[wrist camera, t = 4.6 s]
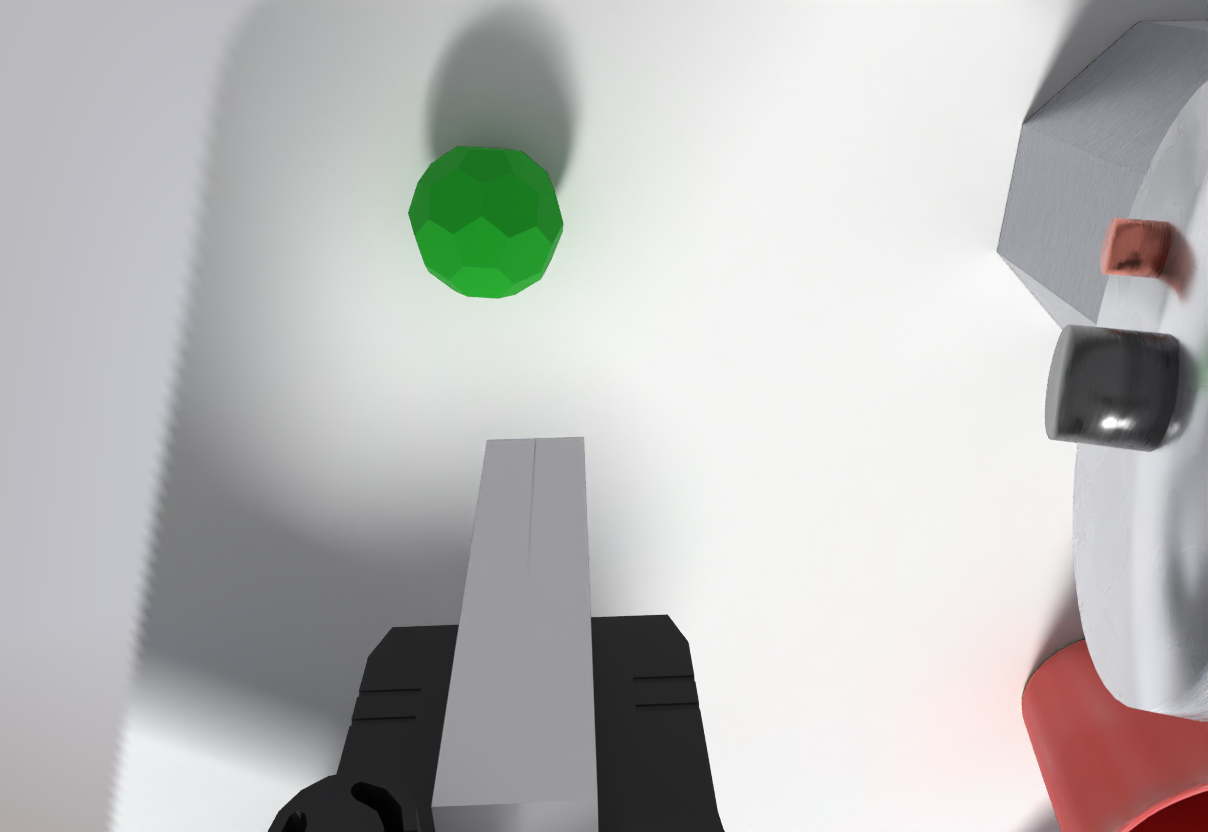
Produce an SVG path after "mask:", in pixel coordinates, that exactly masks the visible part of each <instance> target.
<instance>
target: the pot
mask: <svg viewBox="0 0 1208 832" xmlns="http://www.w3.org/2000/svg"><path fill="white" fill-rule="evenodd" d="M1206 81H1208V20H1183V21H1139V22H1138V23H1137V24H1135V25H1134V26H1133V27H1132V28H1131V29H1130V30H1129V31H1128V32H1126V33H1125V34H1124V35H1123V36H1122V37H1121V38H1120V39H1119V40H1117V41H1116V42H1115V43H1114V44H1113V45H1112V46H1111V47H1110V48H1108V49H1107V50H1106V51H1105V52H1104V53H1103V54H1102V55H1100V56H1099V57H1098V58H1097V59H1096V60H1095V61H1094V62H1093V63H1091V64H1090V65H1089V66H1088V67H1087V68H1086V69H1085V70H1084V71H1082V72H1081V73H1080V74H1079V75H1078V76H1077V77H1076V78H1075V79H1073V80H1072V81H1071V82H1070V83H1069V84H1068V85H1067V86H1066V87H1064V88H1063V89H1062V90H1061V91H1060V92H1059V93H1058V94H1056V95H1055V96H1054V97H1053V98H1052V99H1051V100H1050V101H1049V102H1047V103H1046V104H1045V105H1044V106H1043V107H1042V108H1041V109H1040V110H1038V111H1037V112H1036V113H1035V114H1034V115H1033V116H1032V117H1031V118H1029V119H1028V120H1027V121H1026V122H1025V123H1024V124H1023V126H1022V131H1021V136H1020V141H1019V146H1018V151H1017V156H1016V161H1015V166H1014V171H1013V176H1012V181H1011V186H1010V191H1009V196H1008V201H1007V205H1006V210H1005V215H1004V220H1003V225H1002V230H1001V235H1000V240H999V245H998V250H997V253H998V254H999V255H1000V256H1001V257H1002V258H1003V260H1004V261H1005V262H1006V263H1007V264H1008V265H1009V267H1010V268H1011V269H1012V270H1013V271H1014V273H1015V274H1016V275H1017V276H1018V277H1019V279H1020V280H1021V281H1022V282H1023V283H1024V284H1025V286H1026V287H1027V288H1028V289H1029V290H1030V292H1031V293H1032V294H1033V295H1034V296H1035V298H1036V299H1037V300H1038V301H1039V302H1040V304H1041V305H1042V306H1043V307H1044V308H1045V309H1046V311H1047V312H1048V313H1049V314H1050V315H1051V317H1052V318H1053V319H1054V320H1055V321H1056V323H1057V324H1058V325H1059V326H1060V327H1061V328H1062V330H1063V329H1064V327H1065V326H1066V325H1068V324H1072V325H1082V326H1093V327H1096V325H1097V320H1098V316H1099V312H1100V308H1101V304H1102V300H1103V296H1104V292H1105V288H1106V285H1107V281H1108V278H1109V275H1108V274H1102V273H1101V269H1100V258H1101V250H1102V244H1103V240H1104V236H1105V233H1106V230H1107V227H1108V225H1109V223H1110V221H1111V220H1112V219H1113V218H1125V219H1128V216H1129V213H1130V210H1131V208H1132V205H1133V202H1134V200H1135V198H1136V195H1137V193H1138V190H1139V188H1140V186H1141V183H1142V181H1143V178H1144V176H1145V174H1146V172H1147V170H1148V168H1149V166H1150V164H1151V162H1152V160H1153V157H1154V155H1155V153H1156V151H1157V149H1158V148H1159V146H1160V144H1161V142H1162V140H1163V139H1164V137H1165V135H1166V133H1167V132H1168V130H1169V128H1170V126H1171V125H1172V123H1173V122H1174V120H1175V119H1176V117H1177V116H1178V114H1179V113H1180V111H1181V110H1182V108H1183V107H1184V106H1185V104H1186V103H1187V102H1188V101H1189V100H1190V98H1191V97H1192V96H1193V95H1194V94H1195V92H1196V91H1197V90H1198V89H1199V88H1200V87H1201V86H1202V85H1203V84H1204V83H1205V82H1206Z"/></svg>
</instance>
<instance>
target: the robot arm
mask: <svg viewBox="0 0 1208 832" xmlns="http://www.w3.org/2000/svg"><path fill="white" fill-rule="evenodd" d="M268 832H725V831H724V829H723V826H722V823H721V820H720V817H719V814H718V810H717V804H716V798H715V793H714V787H713V781H712V775H711V769H710V764H709V758H708V752H707V746H706V741H705V735H704V729H703V723H702V718H701V712H700V709H699V700H698V694H697V689H696V683H695V681H694V671H693V666H692V660H691V654H690V648H689V642H688V641H687V640H686V638H685V637H684V636H683V634H682V633H681V632H680V630H679V629H678V628H677V626H676V625H675V624H674V623H673V621H672V620H671V619H670V617H669V616H668V615H643V616H616V617H591V612H590V585H589V558H588V532H587V505H586V478H585V452H584V437H567V438H535V439H504V440H487V444H486V450H485V457H484V464H483V470H482V477H481V483H480V490H479V497H478V503H477V510H476V516H475V523H474V529H473V536H472V543H471V549H470V556H469V562H468V569H467V576H466V582H465V589H464V595H463V602H462V608H461V615H460V622H459V625H441V626H414V627H392V628H391V630H390V631H389V632H388V633H387V635H386V636H385V637H384V638H383V640H382V641H381V642H380V643H379V644H378V646H377V647H376V648H375V649H374V651H373V652H372V653H371V654H370V655H369V657H368V660H367V664H366V667H365V671H364V675H363V678H362V682H361V686H360V689H359V697H357V701H356V704H355V708H354V712H353V715H352V725H351V726H350V727H349V730H348V734H347V738H346V741H345V745H344V749H343V752H342V756H341V760H340V764H339V767H338V771H337V775H332V776H328V777H326V778H324V779H322V780H320V781H318V782H316V783H314V784H312V785H310V786H309V787H307V788H305V789H303V790H301V791H300V792H299V793H298V794H297V795H296V796H295V797H293V798H292V799H291V800H290V801H289V802H288V803H287V804H286V805H285V806H284V807H283V808H282V809H281V810H280V811H279V812H278V814H277V815H276V817H275V819H274V821H273V823H272V825H271V826H270V828H269V830H268Z"/></svg>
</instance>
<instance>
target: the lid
mask: <svg viewBox="0 0 1208 832" xmlns="http://www.w3.org/2000/svg"><path fill="white" fill-rule="evenodd" d="M1100 269H1101V273H1102V274H1108V275H1109V278H1108V281H1107V285H1106V288H1105V292H1104V296H1103V300H1102V304H1101V308H1100V312H1099V316H1098V320H1097V325H1096V327H1093V326H1082V325H1072V324H1068V325H1066V326H1065V327H1064V329H1063V330H1062V332H1061V334H1060V337H1059V339H1058V342H1057V345H1056V348H1055V351H1054V355H1053V359H1052V363H1051V367H1050V372H1049V378H1048V384H1047V392H1046V402H1045V427H1046V433H1047V436H1048V438H1049V439H1051V440H1058V441H1066V442H1074V443H1077V452H1076V463H1075V478H1074V496H1073V552H1074V568H1075V581H1076V590H1077V598H1078V606H1079V611H1080V617H1081V622H1082V627H1083V632H1084V635H1085V639H1086V643H1087V647H1088V650H1089V653H1090V656H1091V658H1092V661H1093V663H1094V666H1095V669H1096V671H1097V673H1098V674H1099V676H1100V678H1101V680H1102V682H1103V684H1104V685H1105V687H1106V688H1107V689H1108V690H1109V691H1110V693H1111V694H1112V695H1113V696H1114V697H1115V699H1117V700H1118V701H1120V702H1121V703H1123V704H1124V705H1126V706H1127V707H1132V708H1136V709H1140V710H1145V711H1150V712H1155V713H1160V714H1166V715H1171V716H1176V717H1181V718H1186V719H1191V720H1196V721H1201V722H1207V721H1208V81H1206V82H1205V83H1204V84H1203V85H1202V86H1201V87H1200V88H1199V89H1198V90H1197V91H1196V92H1195V94H1194V95H1193V96H1192V97H1191V98H1190V100H1189V101H1188V102H1187V103H1186V104H1185V106H1184V107H1183V108H1182V110H1181V111H1180V113H1179V114H1178V116H1177V117H1176V119H1175V120H1174V122H1173V123H1172V125H1171V126H1170V128H1169V130H1168V132H1167V133H1166V135H1165V137H1164V139H1163V140H1162V142H1161V144H1160V146H1159V148H1158V149H1157V151H1156V153H1155V155H1154V157H1153V160H1152V162H1151V164H1150V166H1149V168H1148V170H1147V172H1146V174H1145V176H1144V178H1143V181H1142V183H1141V186H1140V188H1139V190H1138V193H1137V195H1136V198H1135V200H1134V202H1133V205H1132V208H1131V210H1130V213H1129V216H1128V219H1125V218H1113V219H1112V220H1111V221H1110V223H1109V225H1108V227H1107V230H1106V233H1105V236H1104V240H1103V244H1102V250H1101V258H1100Z"/></svg>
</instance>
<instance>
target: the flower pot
mask: <svg viewBox="0 0 1208 832" xmlns="http://www.w3.org/2000/svg"><path fill="white" fill-rule="evenodd" d="M1022 714H1023V719H1024V722H1025V725H1026V728H1027V731H1028V734H1029V737H1030V740H1031V743H1032V746H1033V750H1034V753H1035V755H1036V758H1037V761H1038V764H1039V767H1040V771H1041V774H1042V777H1043V780H1044V783H1045V785H1046V788H1047V791H1048V794H1049V797H1050V800H1051V803H1052V806H1053V809H1054V811H1055V814H1056V817H1057V820H1058V823H1059V826H1060V829H1061V832H1208V721H1207V722H1201V721H1196V720H1191V719H1186V718H1181V717H1176V716H1171V715H1166V714H1160V713H1155V712H1150V711H1145V710H1140V709H1136V708H1132V707H1127V706H1126V705H1124V704H1123V703H1121V702H1120V701H1118V700H1117V699H1115V697H1114V696H1113V695H1112V694H1111V693H1110V691H1109V690H1108V689H1107V688H1106V687H1105V685H1104V684H1103V682H1102V680H1101V678H1100V676H1099V674H1098V673H1097V671H1096V669H1095V666H1094V663H1093V661H1092V658H1091V656H1090V653H1089V650H1088V647H1087V643H1086V639H1085V640H1081V641H1078V642H1076V643H1073V644H1071V645H1069V646H1067V647H1065V648H1063V649H1062V650H1060V651H1058V652H1057V653H1055V654H1054V655H1053V656H1051V657H1050V658H1049V659H1047V660H1046V661H1045V662H1044V663H1043V664H1042V665H1041V666H1040V667H1039V668H1038V669H1037V670H1036V671H1035V673H1034V674H1033V675H1032V677H1031V678H1030V680H1029V681H1028V683H1027V685H1026V688H1025V690H1024V693H1023V698H1022Z"/></svg>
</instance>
